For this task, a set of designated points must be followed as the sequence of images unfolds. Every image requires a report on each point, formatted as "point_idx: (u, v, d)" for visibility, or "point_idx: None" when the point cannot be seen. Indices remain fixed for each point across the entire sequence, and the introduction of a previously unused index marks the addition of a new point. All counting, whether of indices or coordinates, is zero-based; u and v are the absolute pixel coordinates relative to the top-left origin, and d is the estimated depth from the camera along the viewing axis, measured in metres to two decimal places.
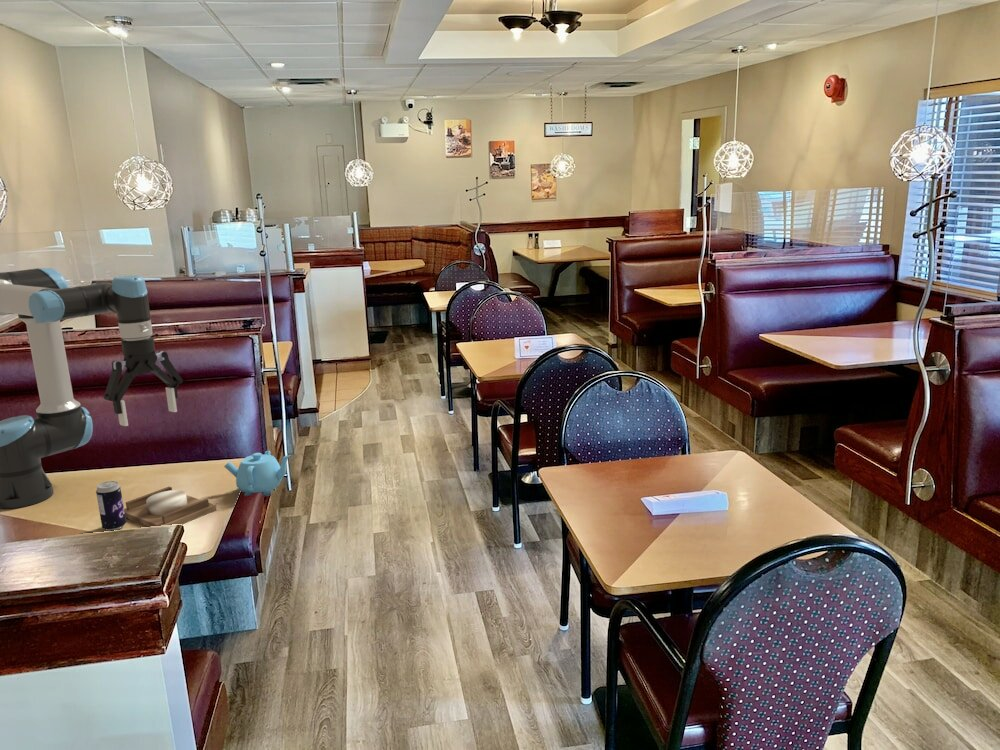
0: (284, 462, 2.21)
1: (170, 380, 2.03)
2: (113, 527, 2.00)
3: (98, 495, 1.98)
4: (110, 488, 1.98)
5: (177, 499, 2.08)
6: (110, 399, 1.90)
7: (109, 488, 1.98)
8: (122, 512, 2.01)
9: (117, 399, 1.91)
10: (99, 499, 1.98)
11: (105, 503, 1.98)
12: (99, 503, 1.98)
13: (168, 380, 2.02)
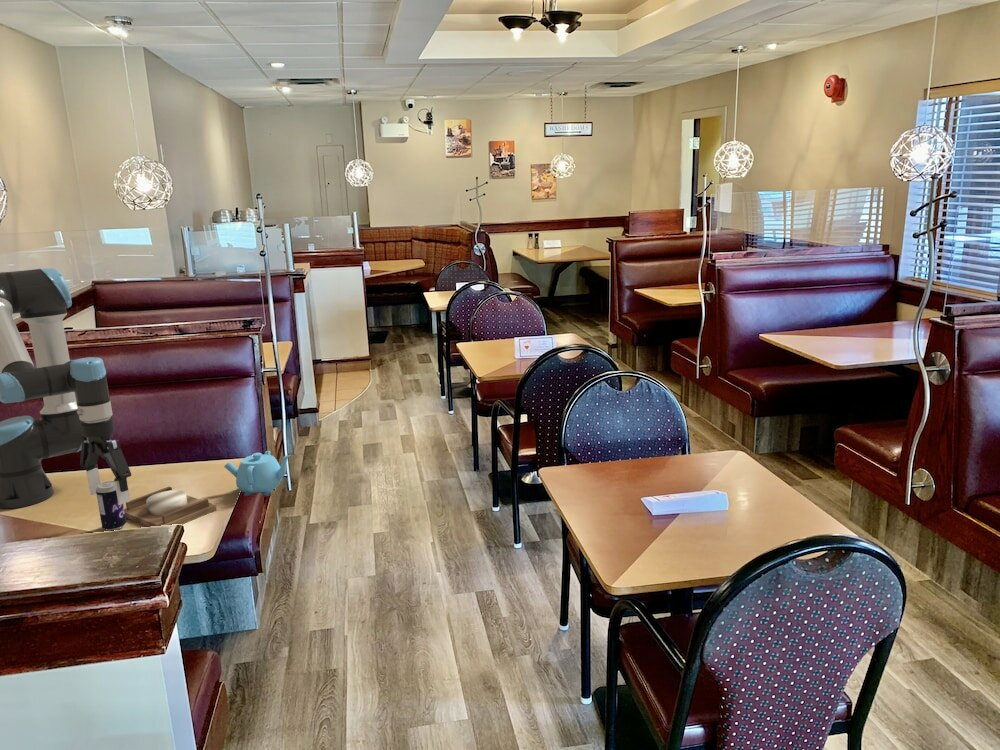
0: (284, 462, 2.21)
1: (113, 471, 1.93)
2: (113, 527, 2.00)
3: (98, 495, 1.98)
4: (110, 488, 1.98)
5: (177, 499, 2.08)
6: None
7: (109, 488, 1.98)
8: (122, 512, 2.01)
9: (84, 467, 2.02)
10: (99, 499, 1.98)
11: (105, 503, 1.98)
12: (99, 503, 1.98)
13: (112, 470, 1.94)
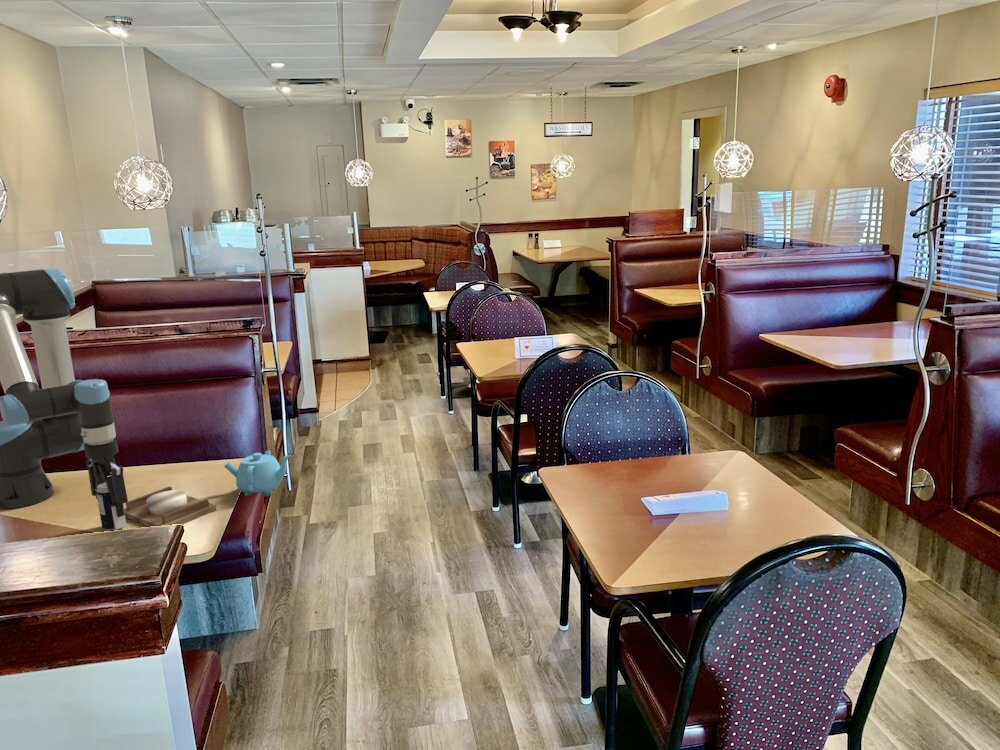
0: (284, 462, 2.21)
1: (111, 496, 1.97)
2: (113, 527, 2.00)
3: (98, 495, 1.98)
4: None
5: (177, 499, 2.08)
6: None
7: None
8: None
9: (96, 497, 2.02)
10: (99, 499, 1.98)
11: (105, 504, 1.98)
12: (99, 503, 1.98)
13: (110, 495, 1.97)
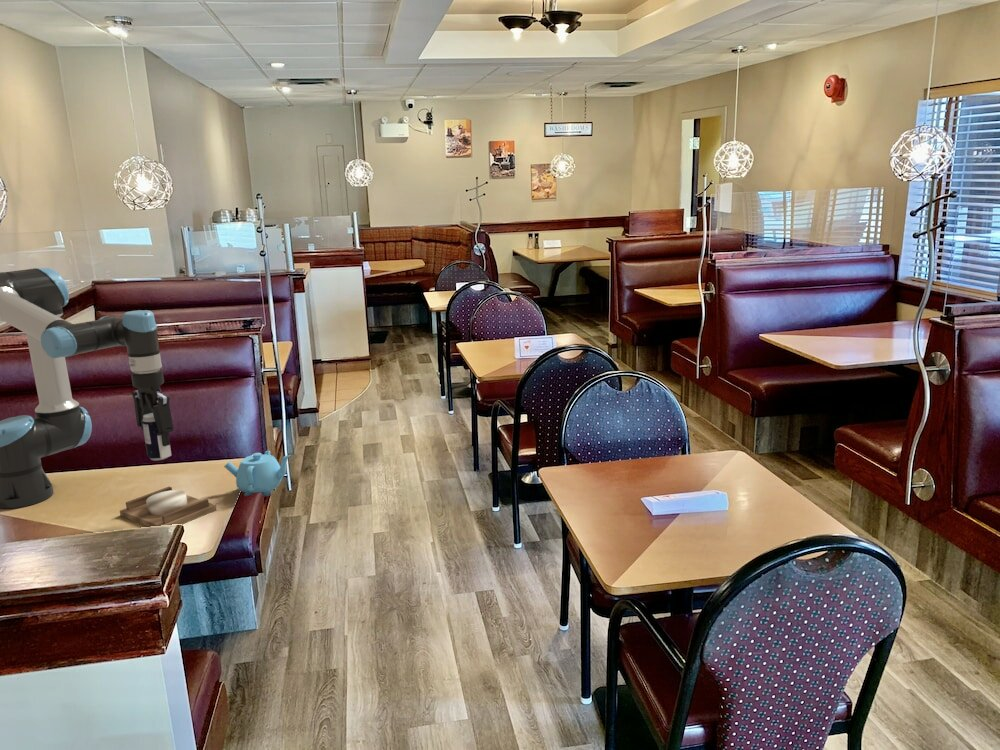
0: (284, 462, 2.21)
1: (158, 425, 2.01)
2: (159, 456, 2.04)
3: (144, 424, 2.02)
4: None
5: (177, 499, 2.08)
6: (138, 425, 2.07)
7: None
8: None
9: (141, 428, 2.06)
10: (145, 428, 2.02)
11: (151, 433, 2.02)
12: (145, 432, 2.02)
13: (156, 424, 2.01)
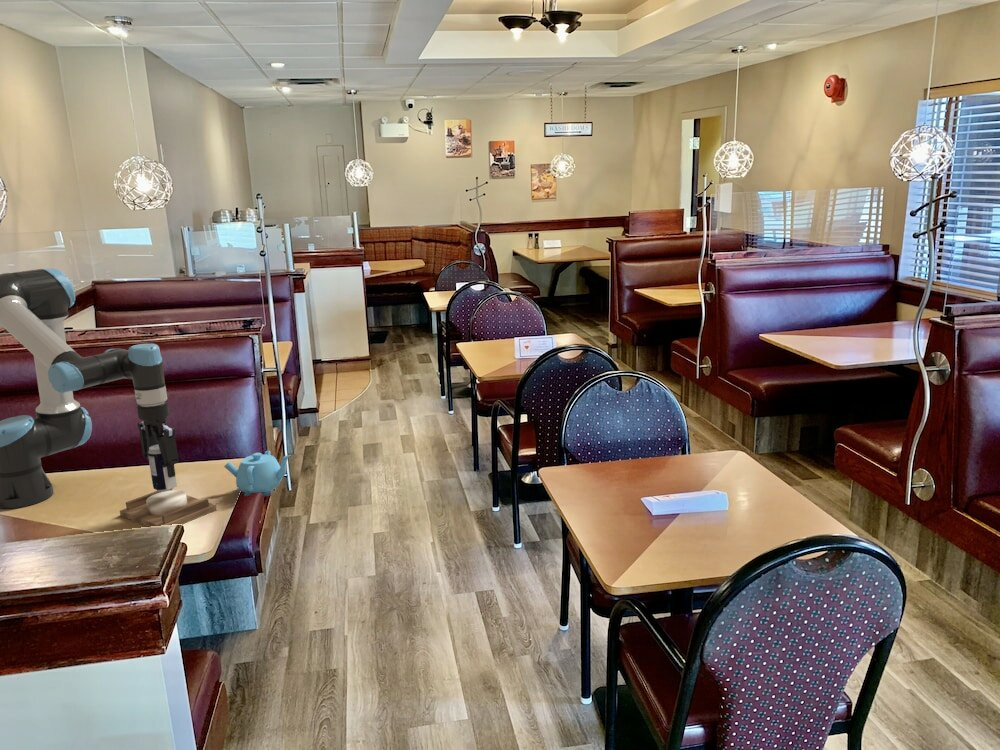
0: (284, 462, 2.21)
1: (163, 457, 2.03)
2: (164, 488, 2.06)
3: (150, 456, 2.04)
4: None
5: (177, 499, 2.08)
6: (143, 456, 2.09)
7: None
8: None
9: (147, 459, 2.08)
10: (151, 460, 2.04)
11: (157, 465, 2.04)
12: (151, 464, 2.05)
13: (162, 456, 2.03)
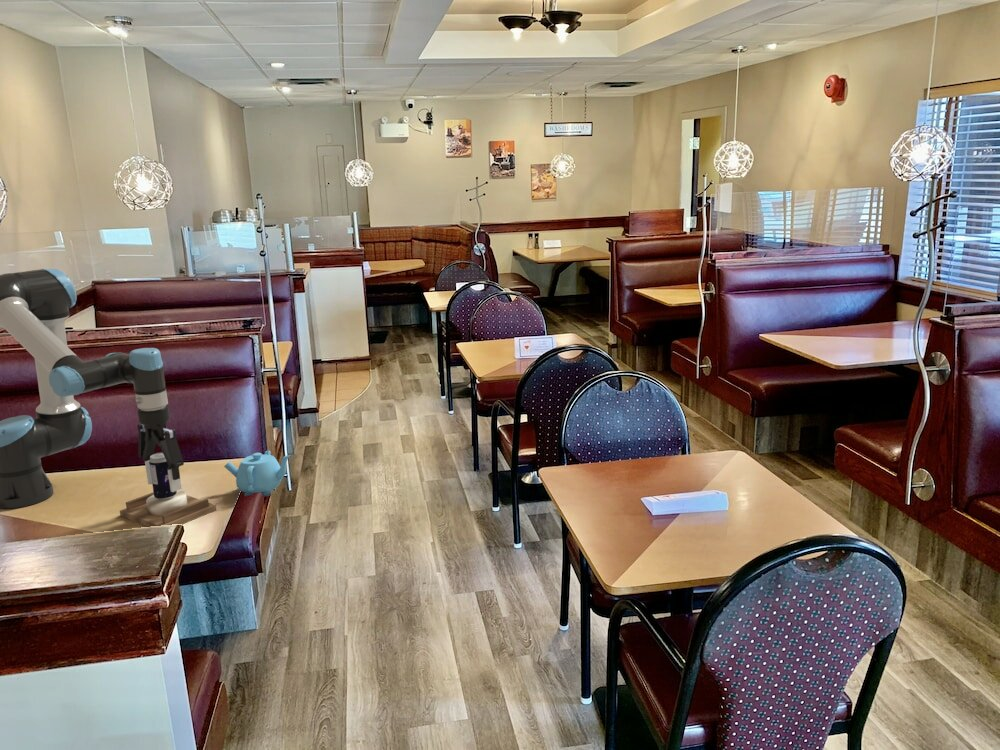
0: (284, 462, 2.21)
1: (167, 460, 2.02)
2: (165, 496, 2.07)
3: (151, 465, 2.05)
4: (163, 458, 2.05)
5: (177, 499, 2.08)
6: (139, 455, 2.10)
7: (162, 458, 2.05)
8: None
9: None
10: (152, 469, 2.05)
11: (158, 473, 2.05)
12: (152, 473, 2.05)
13: (166, 459, 2.03)
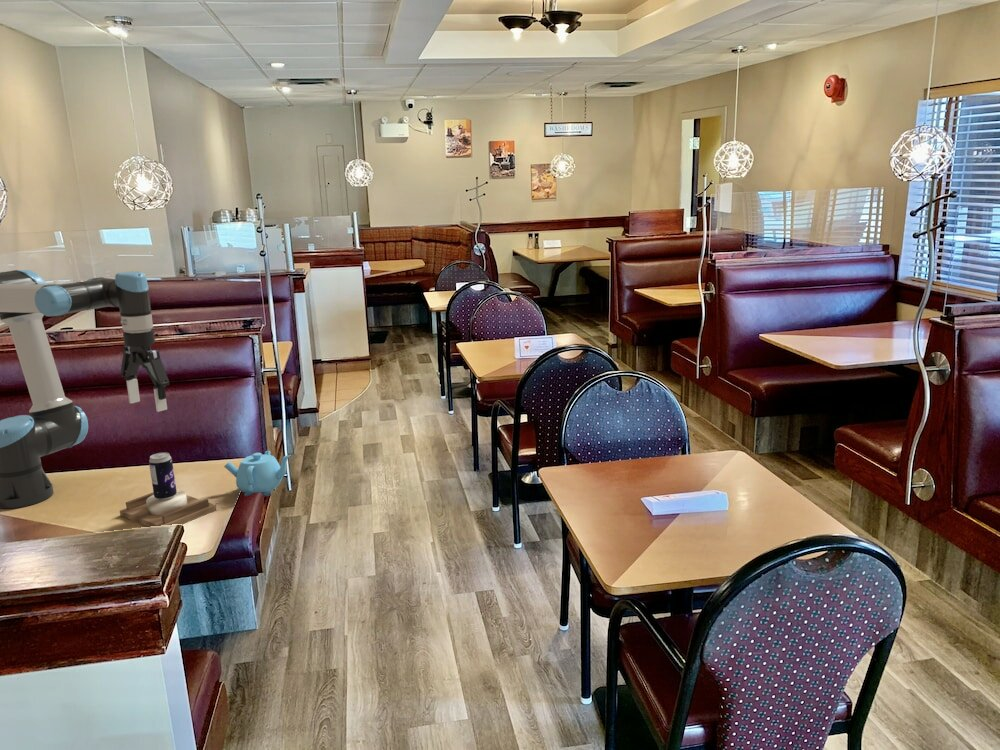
0: (284, 462, 2.21)
1: (153, 380, 2.05)
2: (165, 496, 2.07)
3: (151, 465, 2.05)
4: (162, 459, 2.05)
5: (177, 499, 2.08)
6: None
7: (162, 459, 2.05)
8: (173, 482, 2.08)
9: (124, 377, 2.14)
10: (152, 469, 2.05)
11: (157, 473, 2.05)
12: (152, 473, 2.05)
13: (152, 379, 2.05)
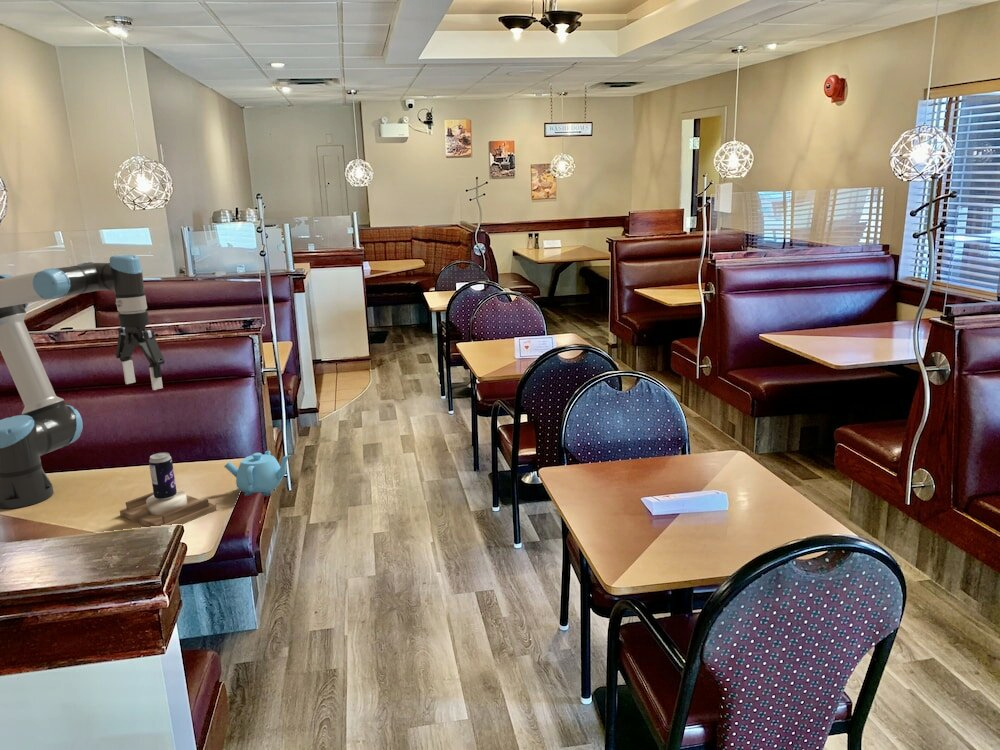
0: (284, 462, 2.21)
1: (148, 359, 2.12)
2: (165, 496, 2.07)
3: (151, 465, 2.05)
4: (162, 459, 2.05)
5: (177, 499, 2.08)
6: (116, 356, 2.21)
7: (162, 459, 2.05)
8: (173, 482, 2.08)
9: (120, 359, 2.20)
10: (152, 469, 2.05)
11: (157, 473, 2.05)
12: (152, 473, 2.05)
13: (147, 358, 2.12)
